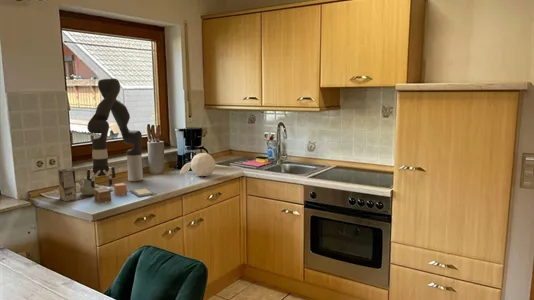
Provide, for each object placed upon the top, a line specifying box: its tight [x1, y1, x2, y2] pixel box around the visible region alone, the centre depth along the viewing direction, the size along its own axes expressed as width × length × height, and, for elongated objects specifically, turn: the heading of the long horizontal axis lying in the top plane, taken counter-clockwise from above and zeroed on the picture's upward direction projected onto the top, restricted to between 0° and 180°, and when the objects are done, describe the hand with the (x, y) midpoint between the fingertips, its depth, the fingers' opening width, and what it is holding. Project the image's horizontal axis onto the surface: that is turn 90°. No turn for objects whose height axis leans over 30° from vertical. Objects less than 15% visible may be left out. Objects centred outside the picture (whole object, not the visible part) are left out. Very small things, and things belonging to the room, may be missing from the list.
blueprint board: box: [129, 187, 157, 198], centre depth 236 cm, size 17×10×1 cm, turn 35°
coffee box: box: [57, 168, 77, 202], centre depth 222 cm, size 9×6×16 cm
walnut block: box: [93, 186, 112, 204], centre depth 220 cm, size 10×6×6 cm, turn 38°
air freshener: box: [79, 175, 100, 196], centre depth 232 cm, size 11×8×10 cm
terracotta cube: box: [113, 182, 128, 196], centre depth 235 cm, size 6×6×6 cm
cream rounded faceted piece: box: [179, 152, 216, 177], centre depth 283 cm, size 16×22×28 cm
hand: (101, 186), depth 220 cm, fingers open, 8 cm apart
